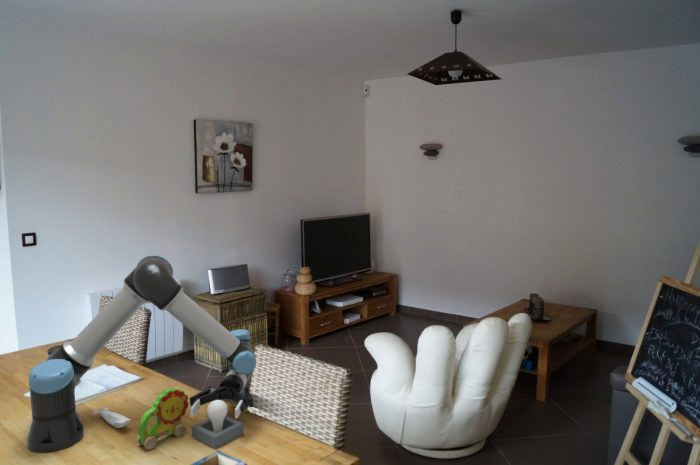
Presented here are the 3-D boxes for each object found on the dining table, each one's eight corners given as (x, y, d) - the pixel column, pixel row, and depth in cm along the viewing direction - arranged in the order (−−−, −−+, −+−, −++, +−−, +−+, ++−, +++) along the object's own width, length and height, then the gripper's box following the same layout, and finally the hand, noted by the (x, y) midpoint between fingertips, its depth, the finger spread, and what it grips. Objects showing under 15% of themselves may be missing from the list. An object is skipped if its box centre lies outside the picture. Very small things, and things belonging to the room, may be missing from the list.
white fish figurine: (118, 435, 166) (118, 423, 166) (92, 419, 178) (91, 407, 177) (135, 428, 170) (134, 416, 170) (108, 413, 182) (108, 402, 181)
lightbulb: (230, 430, 169) (229, 397, 167) (224, 440, 163) (223, 405, 161) (211, 429, 169) (210, 396, 168) (204, 439, 163) (203, 404, 162)
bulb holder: (214, 448, 158) (214, 437, 158) (192, 437, 165) (191, 426, 165) (243, 434, 167) (243, 423, 167) (221, 423, 174) (220, 413, 173)
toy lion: (146, 452, 157) (143, 403, 155) (136, 446, 160) (133, 397, 158) (192, 431, 169) (191, 385, 167) (182, 426, 172) (180, 381, 170)
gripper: (269, 395, 183) (255, 426, 162) (197, 394, 184) (173, 424, 163) (269, 374, 182) (254, 402, 161) (196, 373, 183) (172, 400, 162)
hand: (213, 413), depth 162 cm, fingers open, 13 cm apart
